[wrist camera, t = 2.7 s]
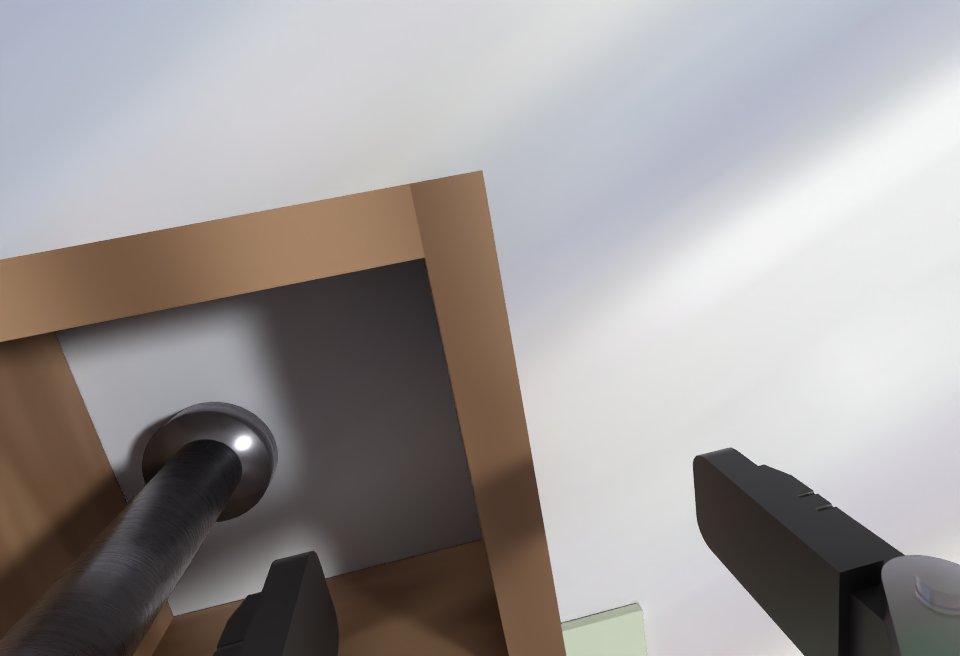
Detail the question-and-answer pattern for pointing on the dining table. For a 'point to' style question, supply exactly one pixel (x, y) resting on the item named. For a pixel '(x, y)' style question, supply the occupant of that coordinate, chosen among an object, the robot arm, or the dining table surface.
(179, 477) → the metal dumbbell
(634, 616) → the sage mat
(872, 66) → the dining table surface
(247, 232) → the walnut frame
